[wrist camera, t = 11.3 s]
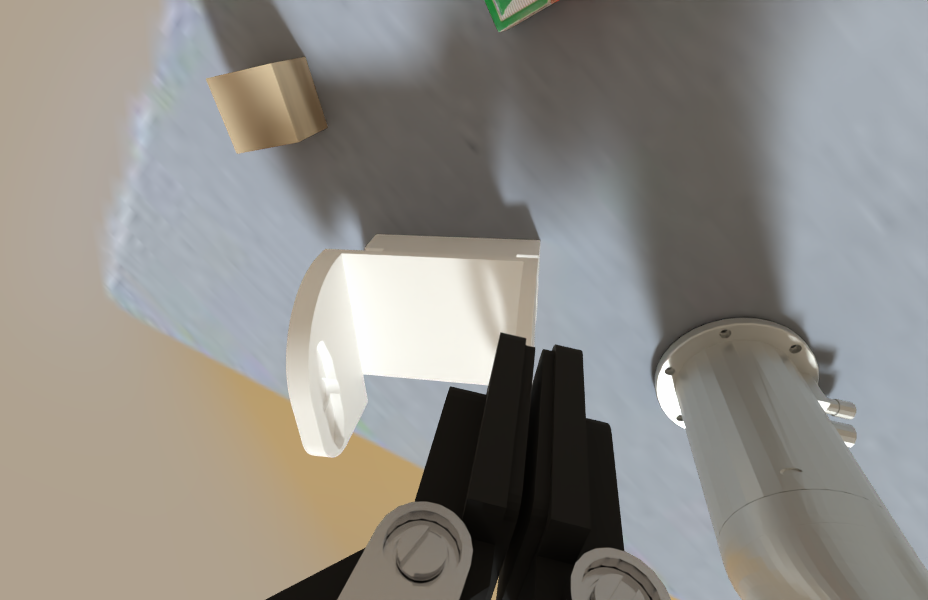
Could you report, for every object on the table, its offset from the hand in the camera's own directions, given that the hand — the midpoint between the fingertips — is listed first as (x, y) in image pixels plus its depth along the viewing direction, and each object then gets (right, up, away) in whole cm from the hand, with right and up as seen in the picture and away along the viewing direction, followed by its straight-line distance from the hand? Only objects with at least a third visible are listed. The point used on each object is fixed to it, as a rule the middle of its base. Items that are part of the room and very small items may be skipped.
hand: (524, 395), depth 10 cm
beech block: (-15, +17, +27) cm, 35 cm away
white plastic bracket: (-2, +4, +33) cm, 33 cm away
